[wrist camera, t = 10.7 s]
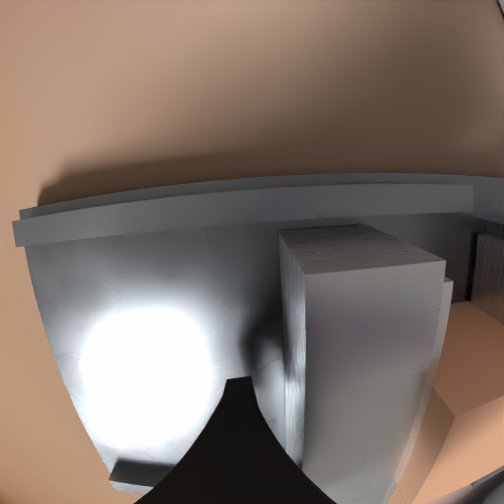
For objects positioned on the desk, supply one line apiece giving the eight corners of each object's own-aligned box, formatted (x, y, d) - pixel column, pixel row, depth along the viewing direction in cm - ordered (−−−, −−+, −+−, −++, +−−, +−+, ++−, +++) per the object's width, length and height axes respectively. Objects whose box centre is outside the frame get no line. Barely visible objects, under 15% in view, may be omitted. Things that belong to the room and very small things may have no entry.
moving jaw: (379, 224, 9) (462, 258, 5) (354, 456, 11) (378, 526, 7) (278, 231, 9) (304, 275, 5) (285, 467, 11) (296, 543, 7)
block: (467, 300, 9) (558, 364, 5) (447, 386, 10) (508, 462, 5) (374, 317, 9) (455, 416, 5) (362, 409, 10) (407, 510, 5)
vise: (510, 178, 9) (598, 190, 4) (461, 426, 12) (500, 481, 7) (32, 207, 9) (-67, 232, 4) (117, 466, 12) (91, 535, 7)
